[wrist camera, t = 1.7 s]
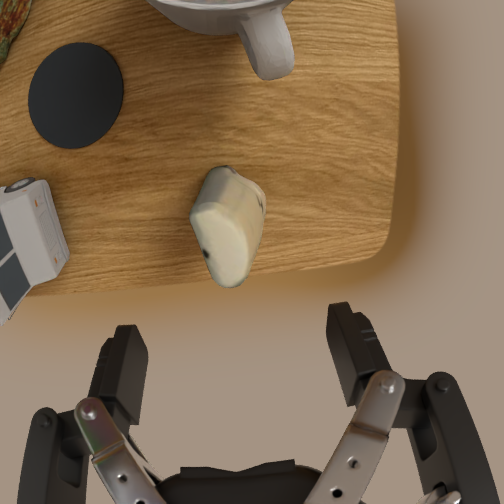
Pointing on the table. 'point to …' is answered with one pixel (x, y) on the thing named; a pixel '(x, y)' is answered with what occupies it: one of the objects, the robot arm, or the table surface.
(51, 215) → the toy vehicle
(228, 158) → the table surface
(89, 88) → the coaster
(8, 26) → the seashell
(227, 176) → the cream rounded piece
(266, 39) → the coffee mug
